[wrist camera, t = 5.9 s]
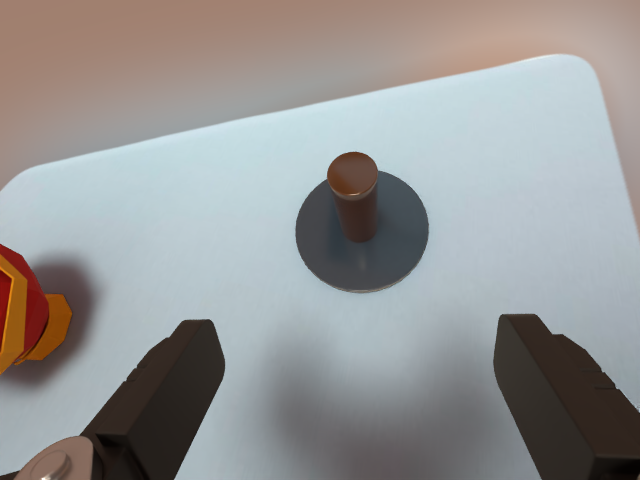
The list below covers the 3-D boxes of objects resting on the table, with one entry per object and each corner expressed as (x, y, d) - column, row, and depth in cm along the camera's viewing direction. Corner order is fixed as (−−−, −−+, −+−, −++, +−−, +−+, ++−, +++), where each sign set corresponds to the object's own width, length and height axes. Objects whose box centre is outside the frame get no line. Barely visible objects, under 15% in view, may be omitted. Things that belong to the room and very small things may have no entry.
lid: (455, 215, 23) (488, 150, 16) (372, 322, 21) (370, 302, 14) (349, 152, 26) (338, 75, 19) (271, 241, 24) (228, 193, 17)
